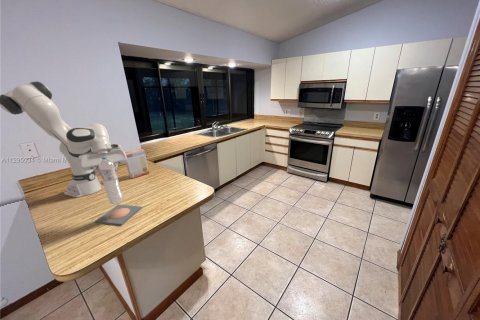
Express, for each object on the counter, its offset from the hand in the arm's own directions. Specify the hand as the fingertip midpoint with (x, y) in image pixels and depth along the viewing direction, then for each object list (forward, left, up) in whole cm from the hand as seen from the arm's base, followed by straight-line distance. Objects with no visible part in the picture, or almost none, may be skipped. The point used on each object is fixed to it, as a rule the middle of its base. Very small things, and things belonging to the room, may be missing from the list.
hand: (107, 173), depth 100 cm
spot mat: (0, +1, -26) cm, 26 cm away
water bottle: (0, +1, -17) cm, 17 cm away
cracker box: (-26, +52, -26) cm, 63 cm away
